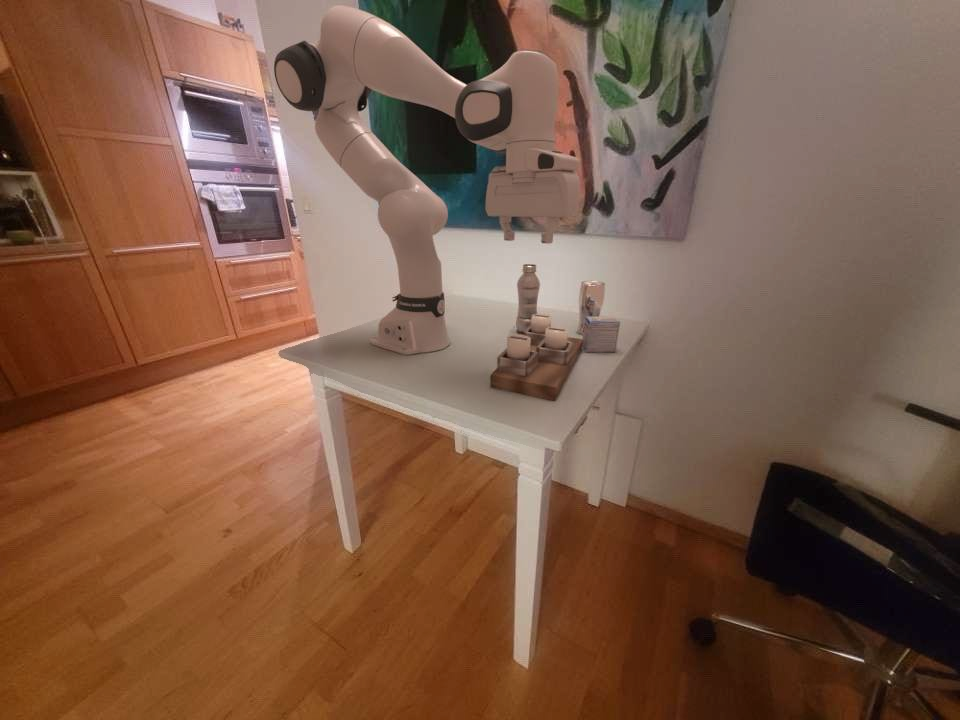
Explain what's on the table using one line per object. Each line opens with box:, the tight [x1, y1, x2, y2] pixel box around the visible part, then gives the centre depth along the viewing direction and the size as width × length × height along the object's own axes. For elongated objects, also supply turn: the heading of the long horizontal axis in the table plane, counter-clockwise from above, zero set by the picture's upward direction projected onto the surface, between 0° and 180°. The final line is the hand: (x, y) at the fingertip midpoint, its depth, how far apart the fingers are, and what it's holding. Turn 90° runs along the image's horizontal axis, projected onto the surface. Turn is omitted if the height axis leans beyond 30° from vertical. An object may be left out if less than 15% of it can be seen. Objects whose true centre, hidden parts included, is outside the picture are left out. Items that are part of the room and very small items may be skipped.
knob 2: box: [531, 313, 553, 334], centre depth 93 cm, size 5×5×4 cm
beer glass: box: [576, 280, 606, 336], centre depth 108 cm, size 7×7×15 cm
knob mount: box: [489, 325, 583, 402], centre depth 87 cm, size 14×30×6 cm, turn 156°
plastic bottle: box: [515, 263, 541, 334], centre depth 107 cm, size 6×7×20 cm
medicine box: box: [582, 315, 621, 353], centre depth 96 cm, size 8×4×9 cm, turn 92°
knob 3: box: [544, 325, 569, 350], centre depth 83 cm, size 5×5×4 cm
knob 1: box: [506, 334, 531, 360], centre depth 78 cm, size 5×5×4 cm
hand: (527, 241), depth 72 cm, fingers open, 8 cm apart
